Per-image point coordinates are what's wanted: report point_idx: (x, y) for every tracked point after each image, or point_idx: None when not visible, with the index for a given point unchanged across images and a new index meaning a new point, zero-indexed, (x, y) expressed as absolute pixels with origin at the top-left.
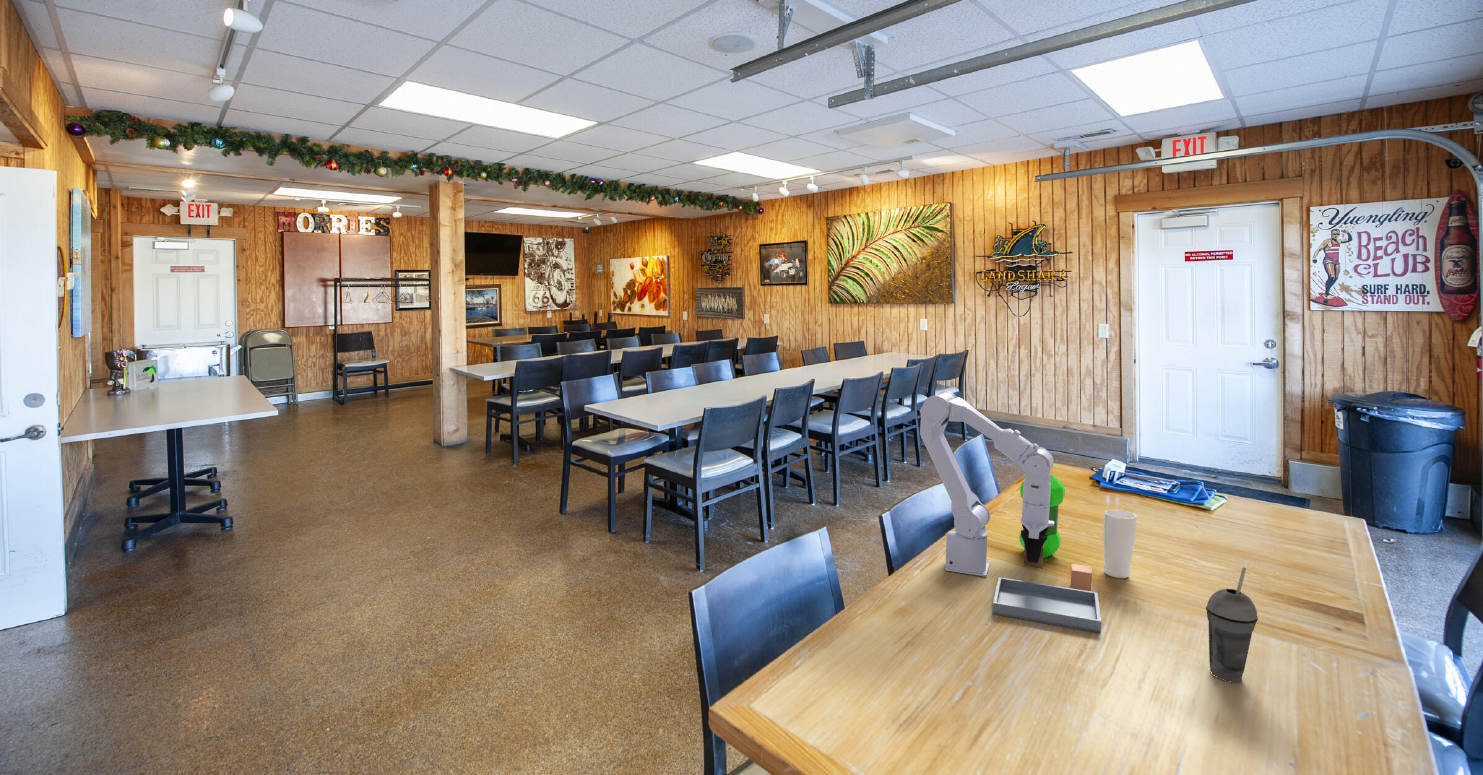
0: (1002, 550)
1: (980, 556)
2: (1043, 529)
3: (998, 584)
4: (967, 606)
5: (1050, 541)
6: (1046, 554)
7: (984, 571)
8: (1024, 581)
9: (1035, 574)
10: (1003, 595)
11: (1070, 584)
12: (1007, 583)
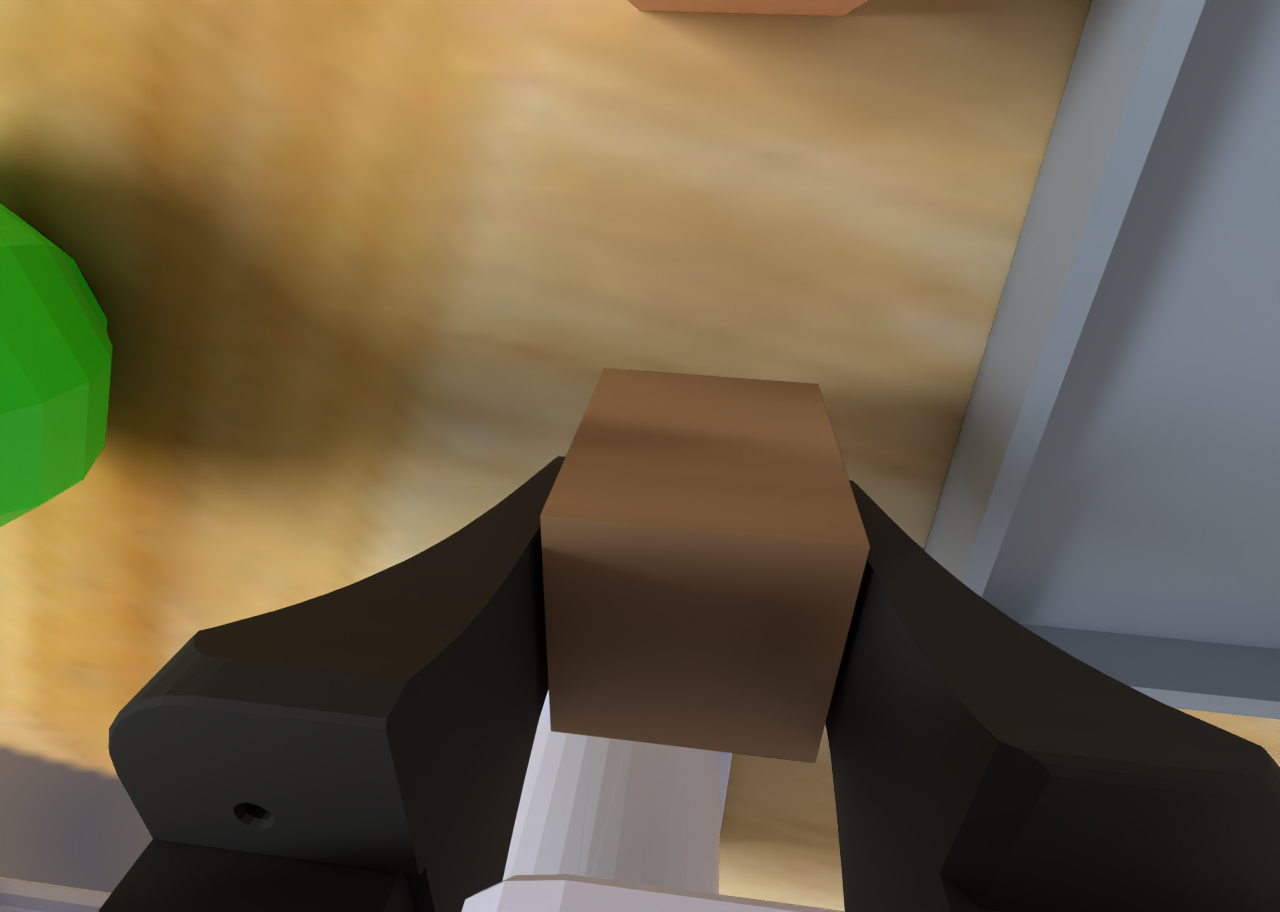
0: (168, 560)
1: (691, 826)
2: (430, 733)
3: None
4: None
5: None
6: (62, 256)
7: None
8: (996, 513)
9: (529, 354)
10: (1106, 607)
11: (655, 10)
12: None
